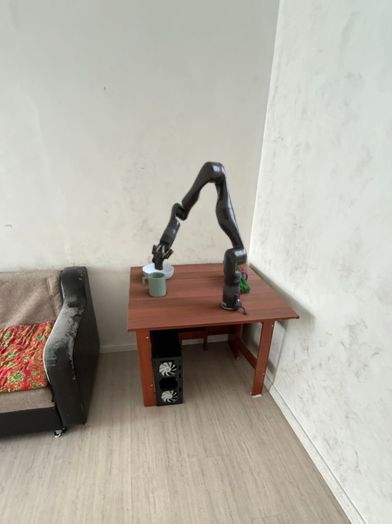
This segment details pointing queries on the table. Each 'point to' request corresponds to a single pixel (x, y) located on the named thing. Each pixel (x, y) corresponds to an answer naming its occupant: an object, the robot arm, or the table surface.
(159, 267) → the remote
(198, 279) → the table surface
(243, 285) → the bouquet
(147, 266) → the serving bowl
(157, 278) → the green coffee mug
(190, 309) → the table surface
